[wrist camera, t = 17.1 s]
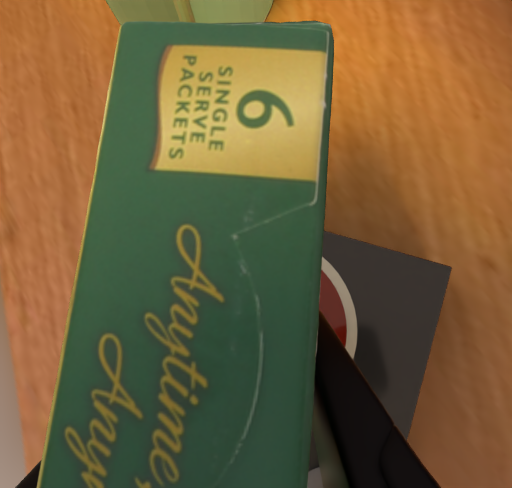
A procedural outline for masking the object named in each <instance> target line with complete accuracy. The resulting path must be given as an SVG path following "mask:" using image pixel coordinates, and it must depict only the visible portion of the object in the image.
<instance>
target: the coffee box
mask: <svg viewBox="0 0 512 488" xmlns="http://www.w3.org/2000/svg"><path fill="white" fill-rule="evenodd" d="M333 62H334V39H333V33H332V29H331V26H330V24H326V23H322V22H318V21H302V22H284V23H276V22H251V23H193V22H153V21H133V22H125V23H123V24H122V25H121V26H120V30H119V35H118V40H117V45H116V50H115V56H114V62H113V68H112V74H111V79H110V84H109V88H108V94H107V100H106V106H105V112H104V118H103V125H102V130H101V135H100V140H99V146H98V152H97V159H96V167H95V173H94V178H93V182H92V187H91V192H90V197H89V203H88V208H87V214H86V220H85V225H84V231H83V236H82V241H81V247H80V252H79V258H78V263H77V268H76V273H75V278H74V284H73V289H72V293H71V298H70V303H69V309H68V314H67V320H66V326H65V333H64V340H63V344H62V349H61V355H60V362H59V368H58V374H57V379H56V384H55V390H54V395H53V400H52V405H51V411H50V416H49V422H48V427H47V433H46V438H45V444H44V450H43V455H42V461H41V467H40V472H39V478H38V483H37V488H308V472H309V459H310V444H311V431H312V417H313V402H314V399H313V397H314V378H315V357H316V352H317V336H318V328H319V299H320V285H321V268H322V251H323V236H324V220H325V203H326V185H327V166H328V148H329V131H330V116H331V101H332V84H333Z"/></svg>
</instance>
